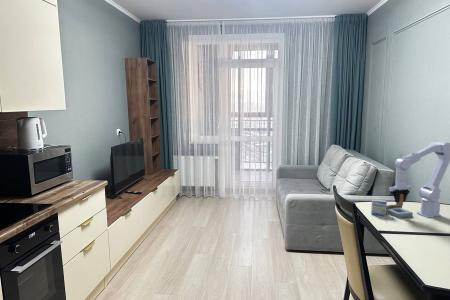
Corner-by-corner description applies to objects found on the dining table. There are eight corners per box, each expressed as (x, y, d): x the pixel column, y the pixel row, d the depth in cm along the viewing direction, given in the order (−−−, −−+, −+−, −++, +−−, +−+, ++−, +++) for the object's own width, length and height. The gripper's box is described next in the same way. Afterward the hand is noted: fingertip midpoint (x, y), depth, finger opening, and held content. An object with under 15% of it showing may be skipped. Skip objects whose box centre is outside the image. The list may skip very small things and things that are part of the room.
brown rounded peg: (399, 203, 189) (400, 193, 188) (404, 205, 186) (405, 195, 185) (394, 204, 188) (395, 194, 187) (399, 205, 185) (400, 195, 184)
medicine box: (371, 214, 191) (372, 200, 189) (370, 212, 195) (371, 198, 194) (386, 216, 188) (386, 202, 187) (385, 214, 192) (386, 200, 191)
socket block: (399, 211, 196) (399, 207, 196) (412, 216, 187) (412, 212, 186) (385, 212, 194) (385, 208, 193) (398, 218, 184) (398, 214, 184)
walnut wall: (397, 209, 200) (397, 202, 200) (401, 210, 197) (402, 204, 196) (378, 211, 197) (378, 204, 196) (382, 213, 193) (383, 206, 193)
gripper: (396, 181, 179) (394, 205, 181) (417, 179, 183) (415, 202, 185) (386, 179, 186) (385, 201, 188) (407, 177, 189) (405, 199, 191)
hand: (399, 201), depth 187 cm, fingers closed on brown rounded peg, 3 cm apart
